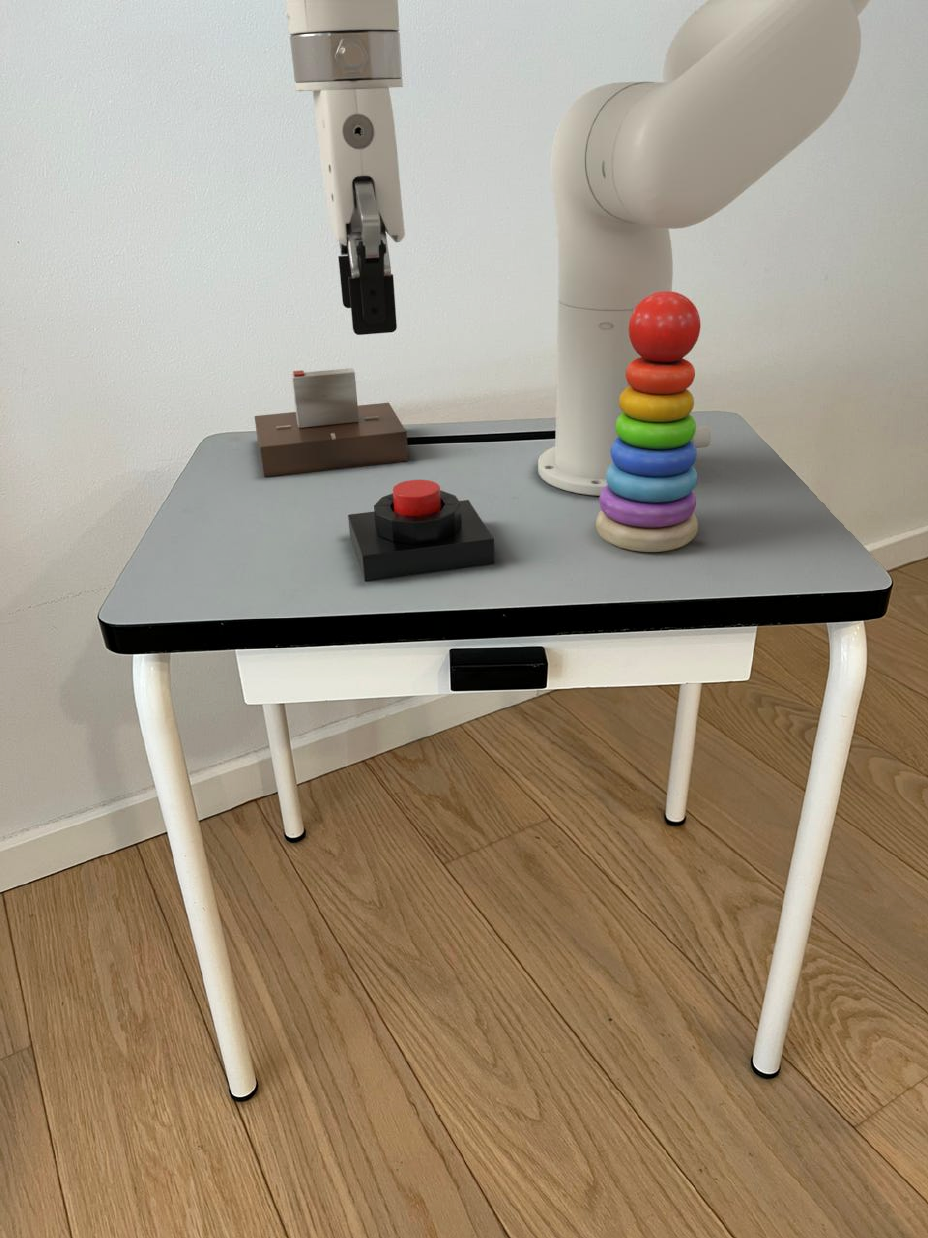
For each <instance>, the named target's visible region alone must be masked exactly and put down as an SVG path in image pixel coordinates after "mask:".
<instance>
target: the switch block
mask: <svg viewBox="0 0 928 1238" xmlns="http://www.w3.org/2000/svg"><path fill="white" fill-rule="evenodd" d="M440 498H441V509H440V511H437V512H435V513H432V514H429V515H421V516H409V515H401V514H398V513H396V512H395V511H394V500H393V492H392V493H390V494H386V495H385V496H382V497H381V498H380V499H379V500H378V501H376V503H375V504H374V505H373V511H367V512H366V511H365V512H361V513H360V512H359V513H358V512H357V513H350V514H348V515H347V518H348V519H347V520H348V529H349V538H350V542H351V545H352V548H353V551H354V554H355V557H356V561H357V563H358V566H359V569H360V571H361V575H362V578H363V580H364V583H367V582H374V581H381V580H388V579H394V578H395V579H397V578H403V577H404V578H405V577H411V576H418V575H425V574H433V573H439V572H440V573H441V572H448V571H454V570H461V569H462V570H463V569H469V568H477V567H482V566H483V567H485V566H490V565H495V538H494V537H493V535H492V533H491V532H490V531H489V529H488V527H487V526H486V524H485V523H484V521H483V520H482V518H481V517H480V515H479V514H478V513H477V510H476V509H475V508H474V506H473V505H472V503H471V502H470V500H469V499H464V500H459V499H458V497H457V496H456V495H455V494H452V493H450V492H446V491H444V490H441V489H440Z"/></svg>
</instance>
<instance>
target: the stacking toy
mask: <svg viewBox="0 0 928 1238" xmlns="http://www.w3.org/2000/svg"><path fill="white" fill-rule="evenodd" d="M699 313H700V312H699V311H698V309H697V307H696V305H695V304H694V302H693V301H692V300H691V299H689V297H687V296H685V295H683V294H682V293H679V292H676V291H673V290H672V291H662V292H656V293H654V294H651V295H649V296H647V297H646V298H644V299H643V300H642V301H641V302H640V303H639V304H638V305H637V306H636V308H635V309H634V311H633V313H632V315H631V318H630V322H629V337H630V341H631V344H632V346H633V348H634V349H635V351H636V352H637V353H638V354H639V355H640V356H641V357H640V358H637V359H635V360H633V361H632V362H631V363H630V364H629V365H628V367H627V369H626V380H627V382H628V384H629V385H630V386H629V387H627V388H626V389H625V390H624V391H623V392H622V393H621V395H620V398H619V405H620V408H621V410H622V411H623V413H622V414H620V416H619V417H618V418H617V421H616V432H617V435H618V436H619V437H618V438H617V439H616V440H615V441H614V442H613V444H612V446H611V451H610V453H611V458H612V461H613V463H612V464H611V465H610V466H609V468H608V470H607V473H606V481H607V484H608V485H606V486H605V487H604V489H603V490H602V491H601V494H600V496H598V497H599V498H598V503H599V506H600V511H599V512H598V514H597V516H596V520H595V527H596V530H597V532H598V534H599V536H601V538H602V539H604V540H605V541H606V542H608V543H609V544H612V545H613V546H616V547H618V548H622V549H624V550H629V551H633V552H639V553H640V552H641V553H660V552H661V553H662V552H668V551H672V550H677V549H680V548H682V547H684V546H686V545H688V544H689V543H690V542H691V541H692V540H693V539H694V538H695V537H696V535H697V534H698V530H699V523H698V521H699V520H698V519H697V516H696V515H695V513H694V512H695V510H696V506H697V498H696V495H695V492H693V491H694V489H695V488H696V486H697V484H698V472H697V470H696V468H695V466H694V464H695V462H696V460H697V456H698V454H697V453H698V452H697V448H696V447H695V445H694V444H693V443H692V441H691V440H692V438H693V437H694V435H695V431H696V427H697V423H696V420H695V419H694V417H693V416H692V415H691V412H692V411H693V409H694V406H695V398H694V395H693V394H692V392H691V391H690V390H689V388H690V386H692V384H693V382H694V380H695V377H696V370H695V367H694V365H693V364H692V363H691V362H690V361H689V360H687V359H686V358H685V357H686V356H687V355H688V354H689V353H690V352H692V350H693V349H694V347H695V346H696V344H697V342H698V339H699V336H700V332H701V318H700V314H699Z"/></svg>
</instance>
